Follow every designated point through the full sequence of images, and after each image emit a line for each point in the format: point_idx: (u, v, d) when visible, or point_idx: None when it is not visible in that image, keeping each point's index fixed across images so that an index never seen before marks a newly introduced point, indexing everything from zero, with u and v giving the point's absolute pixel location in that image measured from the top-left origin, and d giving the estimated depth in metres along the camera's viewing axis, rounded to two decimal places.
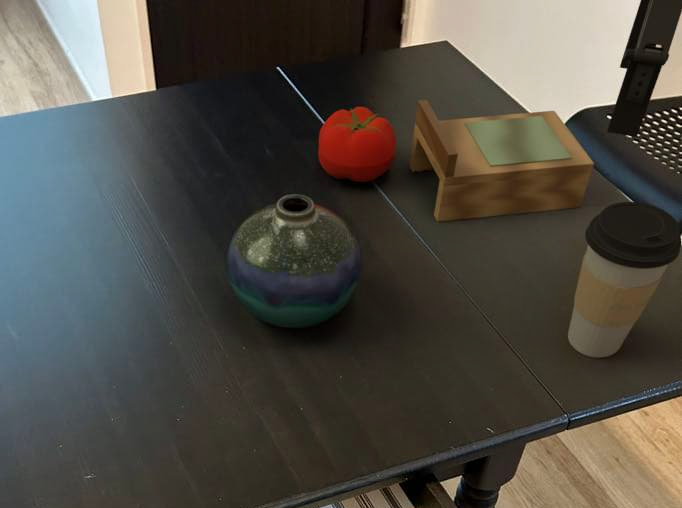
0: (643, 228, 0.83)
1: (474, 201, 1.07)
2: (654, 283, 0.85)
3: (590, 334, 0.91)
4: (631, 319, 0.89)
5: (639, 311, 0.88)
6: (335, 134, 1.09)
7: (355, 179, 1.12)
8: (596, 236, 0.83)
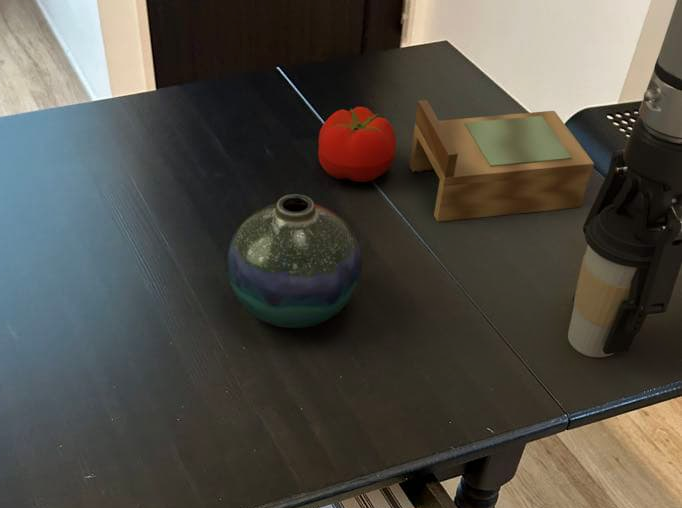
0: None
1: (474, 201, 1.07)
2: None
3: (590, 334, 0.91)
4: None
5: None
6: (335, 134, 1.09)
7: (355, 179, 1.12)
8: (596, 236, 0.83)
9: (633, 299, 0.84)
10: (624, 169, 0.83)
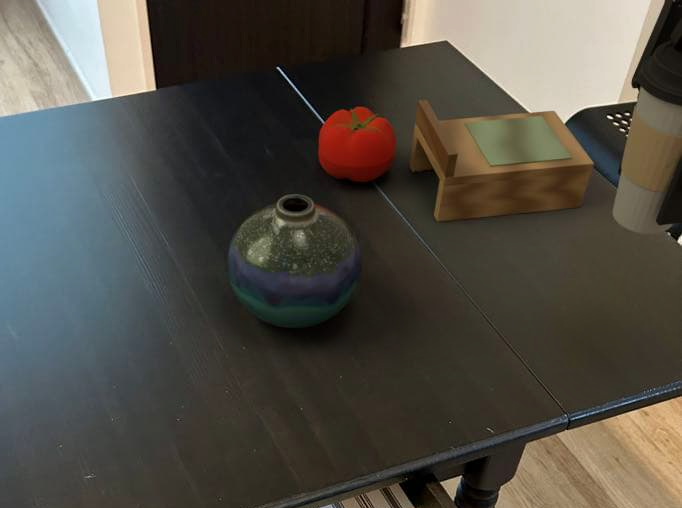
0: None
1: (474, 201, 1.07)
2: None
3: (641, 203, 0.79)
4: None
5: None
6: (335, 134, 1.09)
7: (355, 179, 1.12)
8: (651, 76, 0.71)
9: None
10: None
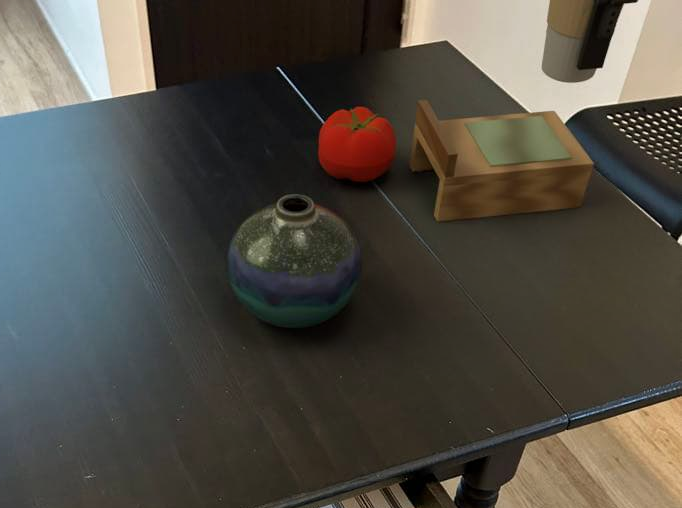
0: None
1: (474, 201, 1.07)
2: None
3: (564, 51, 0.89)
4: None
5: None
6: (335, 134, 1.09)
7: (355, 179, 1.12)
8: None
9: None
10: None
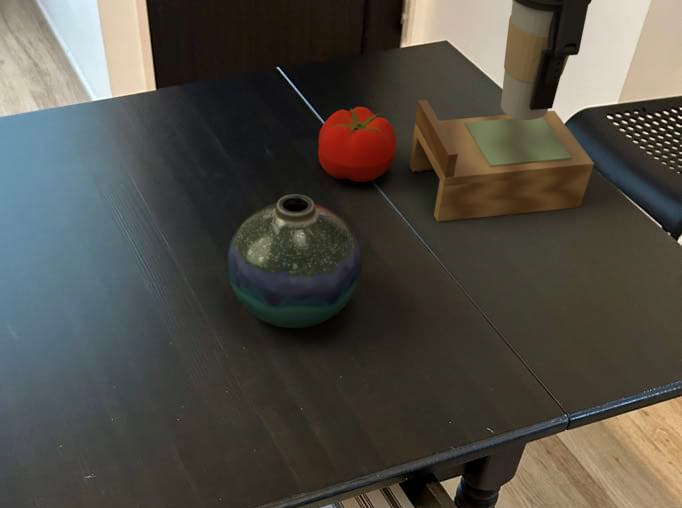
0: None
1: (474, 201, 1.07)
2: None
3: (518, 93, 1.02)
4: None
5: None
6: (335, 134, 1.09)
7: (355, 179, 1.12)
8: None
9: (551, 44, 0.95)
10: None
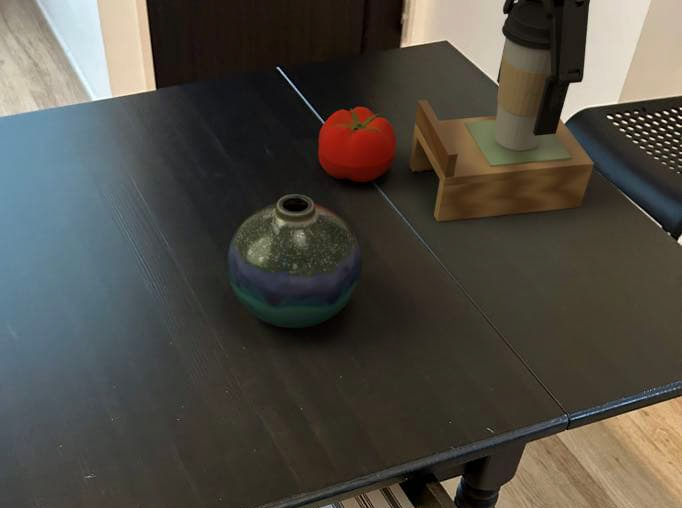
0: None
1: (474, 201, 1.07)
2: None
3: (511, 126, 1.05)
4: None
5: None
6: (335, 134, 1.09)
7: (355, 179, 1.12)
8: (510, 26, 0.98)
9: (554, 71, 0.95)
10: None
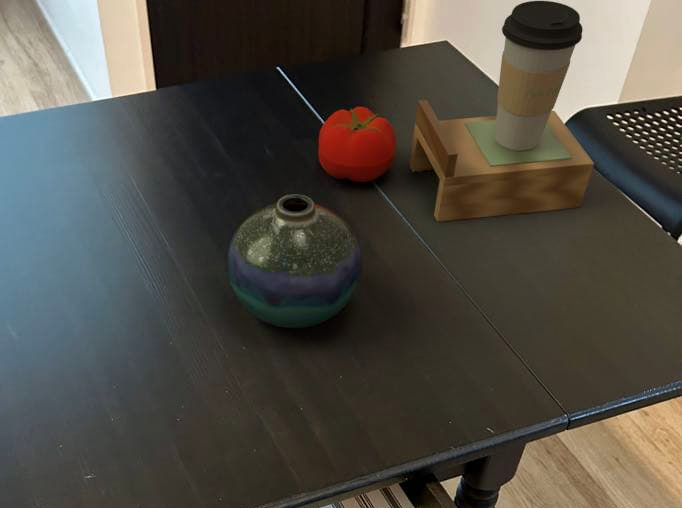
0: (549, 17, 0.97)
1: (474, 201, 1.07)
2: (560, 69, 0.99)
3: (511, 126, 1.05)
4: (544, 108, 1.03)
5: (551, 100, 1.02)
6: (335, 134, 1.09)
7: (355, 179, 1.12)
8: (510, 26, 0.98)
9: None
10: None
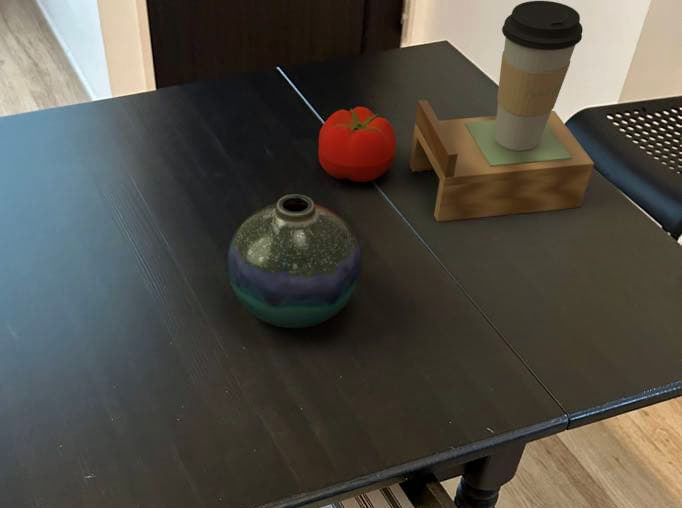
0: (549, 17, 0.97)
1: (474, 201, 1.07)
2: (560, 69, 0.99)
3: (511, 125, 1.05)
4: (544, 108, 1.03)
5: (551, 100, 1.02)
6: (335, 134, 1.09)
7: (355, 179, 1.12)
8: (510, 26, 0.98)
9: None
10: None
